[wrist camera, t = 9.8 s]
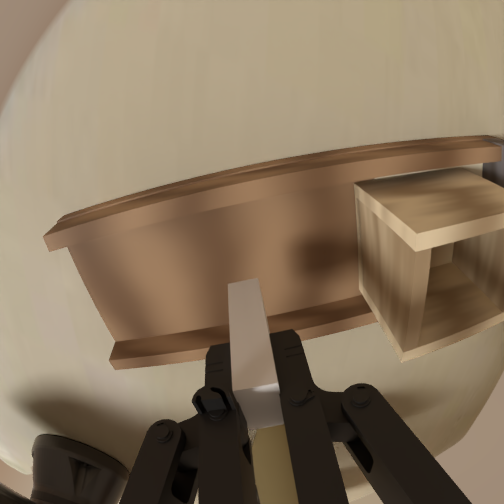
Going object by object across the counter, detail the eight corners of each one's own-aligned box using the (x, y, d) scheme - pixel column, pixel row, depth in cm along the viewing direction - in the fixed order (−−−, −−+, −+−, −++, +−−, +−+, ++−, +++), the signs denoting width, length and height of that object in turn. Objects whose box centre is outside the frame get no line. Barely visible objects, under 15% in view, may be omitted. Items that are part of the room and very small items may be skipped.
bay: (124, 343, 23) (109, 391, 19) (63, 215, 18) (25, 251, 13) (477, 263, 22) (511, 295, 18) (487, 135, 17) (535, 151, 13)
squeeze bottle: (288, 389, 27) (325, 579, 11) (339, 413, 30) (381, 564, 14) (230, 426, 29) (240, 588, 13) (284, 445, 32) (306, 582, 16)
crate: (359, 289, 21) (401, 362, 14) (353, 183, 17) (416, 233, 11) (452, 263, 20) (507, 318, 14) (459, 167, 17) (535, 204, 11)
